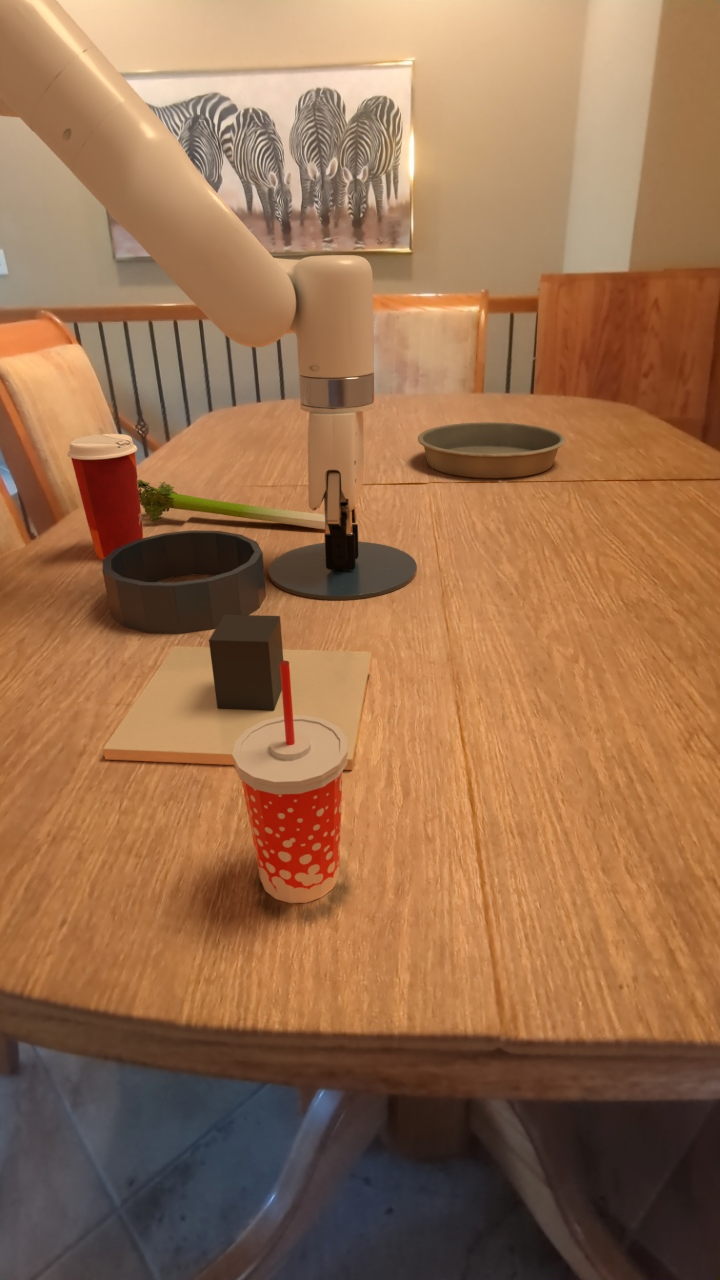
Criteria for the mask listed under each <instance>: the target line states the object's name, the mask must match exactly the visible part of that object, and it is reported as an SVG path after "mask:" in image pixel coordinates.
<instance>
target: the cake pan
mask: <svg viewBox="0 0 720 1280" xmlns="http://www.w3.org/2000/svg"><path fill="white" fill-rule="evenodd" d="M417 442H418V444H419V445H421V446H423V449H424V452H425V457H426V462H427V464H428V466H429V467H430V468H432V469H434V470H436V471H438V472H440V473H445V474H447V475H451V476H456V477H464V478H475V479H513V478H522V477H529V476H533V475H538V474H542V473H544V472H546V471H548V470H550V469H551V468H552V467H553V465H554V463H555V459H556V456H557V453H558V450H559V449H560V448H562V447H563V446H564V445H565V444H566V438H565V436H564V435H563V434H562V433H560V432H558V431H556V430H553V429H551V428H550V429H549V428H546V427H542V426H537V425H531V424H525V423H515V422H514V423H511V422H497V421H496V422H489V421H488V422H487V421H486V422H482V421H480V422H461V423H454V424H446V425H440V426H435V427H432V428H428V429H427V430H424V431H423V432H421V433H419V435H418V436H417Z"/></svg>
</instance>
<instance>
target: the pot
mask: <svg viewBox="0 0 720 1280" xmlns="http://www.w3.org/2000/svg"><path fill="white" fill-rule="evenodd" d="M263 555H264V554H263V550H262V548H261V546H260V544H259V543H258V541H256V540H254V539H251V538H250V537H247V536H245V535H243V534H241V533H234V532H228V531H222V530H197V529H195V530H182V531H173V532H172V531H171V532H163V533H159V534H154V535H151V536H147V537H143V538H142V539H138V540H135V541H133V542H130V543H128V544H126V545H123V546H121V547H119V548H116V549H115V550H113V551H112V552H111V553H110V554H109V555H108V556H107V557H106V558H104V559H102V575H103V580H104V581H103V582H104V586H105V591H106V592H105V593H106V597H107V602H108V608H109V613H110V618H112V619H113V620H115V621H116V623H118V624H120V625H121V626H122V627H123V628H125V629H130V630H134V631H136V632H137V631H138V632H142V633H145V634H155V635H156V634H158V635H159V634H160V635H184V634H185V635H186V634H192V633H199V632H206V631H212V630H213V631H214V630H215V629H216V628H217V626H218V624H219V623H220V621H221V620H222V618H223V616H224V615H253V613H255V612H256V611H258V610H259V609H260V608H261V607H262V604H263V603H264V601H265V599H266V597H267V591H266V581H265V580H266V579H265V569H264V568H265V567H264V556H263ZM196 575H197V576H200V575H201V576H210V577H206V578H200V579H194V580H184V581H178V582H177V581H176V582H163V581H165V580H167V579H172V578H180V577H187V576H196ZM161 581H162V582H161Z"/></svg>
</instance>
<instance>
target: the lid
mask: <svg viewBox="0 0 720 1280" xmlns="http://www.w3.org/2000/svg"><path fill="white" fill-rule="evenodd" d="M352 534H353V529H352ZM417 565H418V564H417V562H416V560H415V559H414V558H413V557H412V556H411V555H410V554H409V553H407V552H406V551H403V550H401V549H399V548H397V547H393V546H390V545H386V544H381V543H376V542H369V541H368V542H367V541H358V558H357V559H355V568H354V569H353V570H329V569H327V568H326V554H325V542H320V543H313V544H309V545H305V546H301V547H297V548H294V549H292V550H289V551H286V552H284V553H282V554H281V555H279V556H277V557H276V558H275V559H273V560H272V561H271V563H270V565H269V567H268V578H269V580H270V582H271V583H272V584H273V585H274V586H275V587H277V588H278V589H280V590H281V591H284V592H286V593H289V594H291V595H295V596H298V597H303V598H308V599H313V600H315V599H316V600H323V601H324V600H325V601H349V600H360V599H368V598H374V597H378V596H383V595H385V594H389V593H393V592H395V591H398V590H400V589H401V588H403V587H405V586H407V585H409V584H410V583H411V582H412V581H413V580H414V579H415V577H416V576H417V572H418V566H417Z"/></svg>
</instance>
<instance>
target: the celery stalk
mask: <svg viewBox="0 0 720 1280" xmlns="http://www.w3.org/2000/svg"><path fill="white" fill-rule="evenodd" d="M159 483H160V485H159V486H158V487H155V486H151V483H150V482H147V481H145V480H142V479H139V478H138V488H139V498H140V506H141V507H142V508H143V509H144V513H145V515H147V516H149V519H150V521H151V522H154V523H157V522H159V521H161V520H162V519H164V517H163V515H164V513H165V512H170V509H174V510H181V511H182V510H183V511H191V512H200V513H208V514H216V515H222V516H228V517H235V518H243V519H249V520H255V521H256V520H257V521H264V522H270V523H272V522H273V523H279V524H286V525H292V526H299V527H306V528H311V529H312V528H313V529H319V530H325V513H316V512H307V511H297V510H288V509H280V508H273V507H264V506H257V505H250V504H242V503H235V502H228V501H221V500H214V499H208V498H202V497H199V496H198V497H197V496H192V495H187V494H181V493H177V492H176V491H174V489H175V488H174V486H171V485H170V484H169V483H167V484H166V481H163V482H160V481H159ZM142 489H143V490H142Z"/></svg>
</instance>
